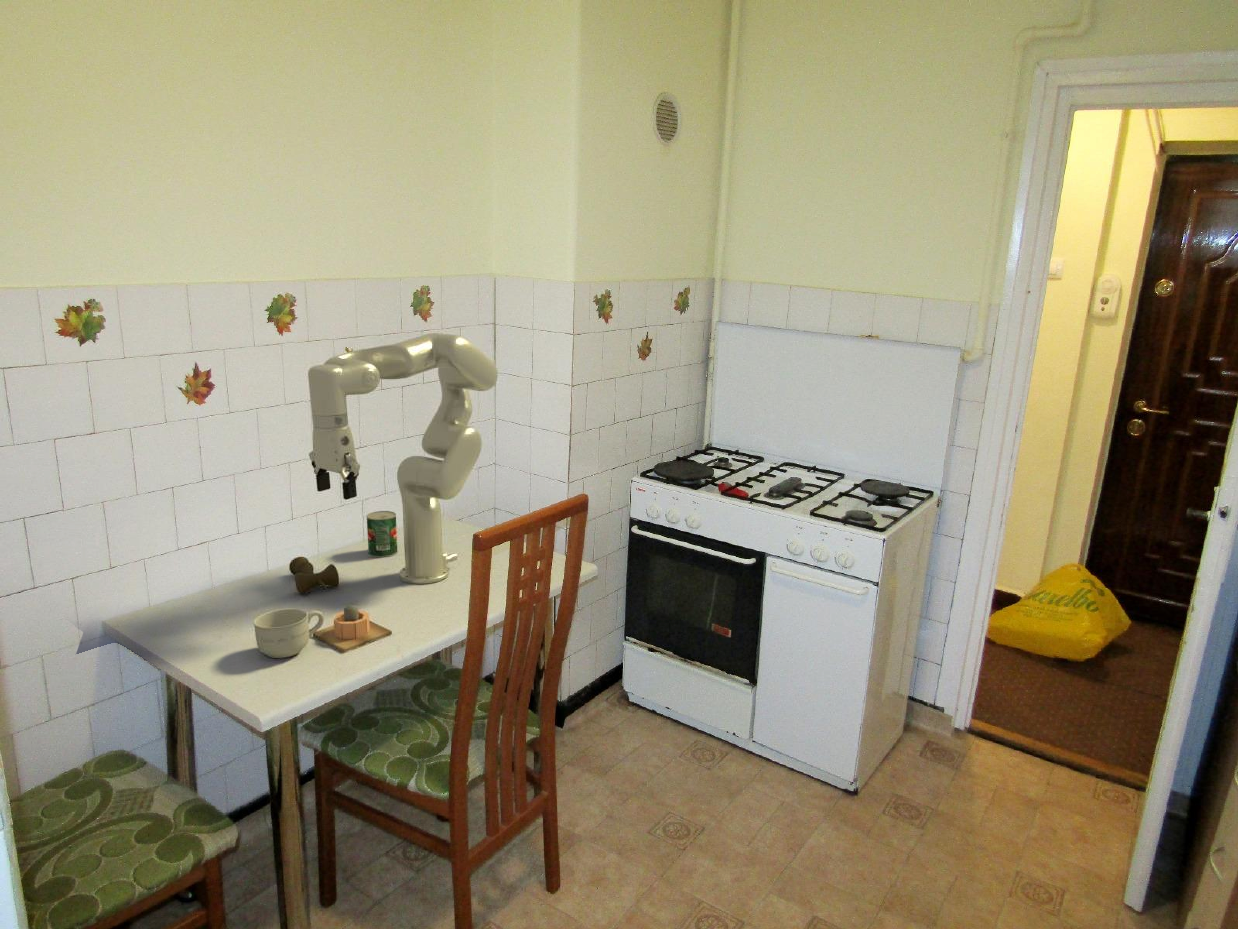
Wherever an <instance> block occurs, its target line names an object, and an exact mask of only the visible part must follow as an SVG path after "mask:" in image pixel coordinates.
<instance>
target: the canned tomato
mask: <svg viewBox="0 0 1238 929" xmlns="http://www.w3.org/2000/svg"><path fill="white" fill-rule="evenodd" d="M366 528H367V550H368V552H367V554H368V556H370V555H371V556H370V557H372V558H387V557H392V555H393V556H395V555H396V554H398V551H399V550H398V533H397V532H398V531H397V530H398V529H397V513H396V512H394V511H389V510H378V511H373V512H370V513H368V514H366Z"/></svg>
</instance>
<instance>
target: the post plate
mask: <svg viewBox="0 0 1238 929" xmlns="http://www.w3.org/2000/svg"><path fill="white" fill-rule="evenodd" d="M358 610H359V606H357V605H347V606H345V607H344V608H343V612H344V620H345V622H354V621H357V620H359V614H358ZM369 627H370V629H369V632H368V634H367V635H365V636H362V637H359V638H357V639H356V638H355V639H341V638H339V637H337V636H335V632H334V624H333V625H331V626H329V627H326V628H325V627H324V628H323V629H318V630H317V631H316V632H315V633H313V634H312V637H314V638H315V639H318V640H319V639H320V641H321V640H322V641H321V642H323V641H324V643H325V644H327V643H328V644H327V645H329V644H330V645H329V646H331V647H333V648H334V647H335V649H336V648H337V649H336V650H339V651H340V650H341V651H340V652H342V653H345V654H346V653H348V652H350V651H349V650H351V651H352V650H355V649H358V648H360V647H363V646H365V644H366V645H368V644H367V643H369V644H370V643H374V642H375V641H374V640H376V641H379V640H381V639H380V638H382V639H384V638H386V637H389V636H392V635H393V631H392V630H391V629H388V628H385V627H384V626H382V625H380V624H377V622H376V623H375V622H374V621H372V620H369ZM391 634H392V635H391ZM383 637H384V638H383ZM378 639H379V640H378ZM373 641H374V642H373ZM357 647H358V648H357ZM347 651H348V652H347Z"/></svg>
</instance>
